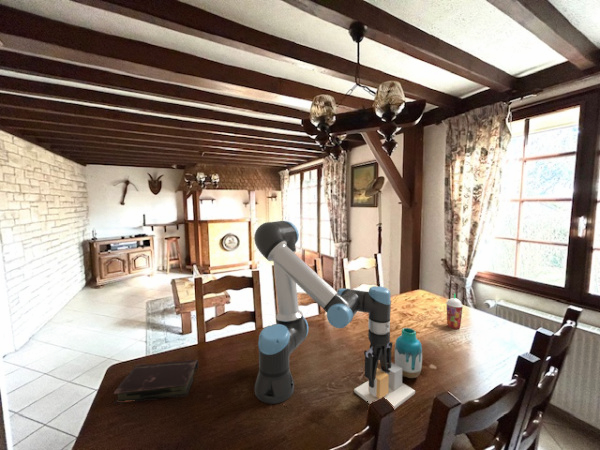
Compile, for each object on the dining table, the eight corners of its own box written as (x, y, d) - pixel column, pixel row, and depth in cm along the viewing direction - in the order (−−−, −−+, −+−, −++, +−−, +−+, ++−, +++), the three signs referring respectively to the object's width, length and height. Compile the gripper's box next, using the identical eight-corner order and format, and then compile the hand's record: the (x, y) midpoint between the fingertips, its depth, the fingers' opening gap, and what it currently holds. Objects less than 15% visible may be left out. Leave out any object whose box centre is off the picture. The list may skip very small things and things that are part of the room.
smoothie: (462, 325, 153) (463, 292, 152) (461, 331, 146) (463, 297, 145) (445, 322, 158) (447, 290, 156) (445, 327, 151) (446, 294, 149)
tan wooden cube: (379, 399, 92) (379, 380, 91) (368, 391, 96) (368, 373, 96) (388, 393, 95) (388, 374, 94) (377, 385, 99) (377, 368, 98)
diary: (137, 374, 110) (136, 363, 110) (198, 368, 114) (198, 357, 114) (112, 407, 92) (111, 393, 92) (186, 399, 96) (186, 386, 95)
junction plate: (385, 416, 87) (385, 392, 87) (354, 392, 98) (354, 371, 98) (415, 393, 98) (415, 372, 97) (383, 374, 109) (384, 355, 108)
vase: (419, 386, 101) (421, 339, 100) (391, 377, 107) (392, 332, 106) (423, 372, 110) (424, 328, 109) (397, 364, 116) (398, 322, 115)
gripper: (371, 342, 86) (370, 408, 87) (402, 327, 96) (401, 386, 98) (354, 333, 92) (353, 395, 93) (385, 320, 102) (384, 376, 104)
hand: (377, 390), depth 95 cm, fingers closed on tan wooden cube, 5 cm apart
